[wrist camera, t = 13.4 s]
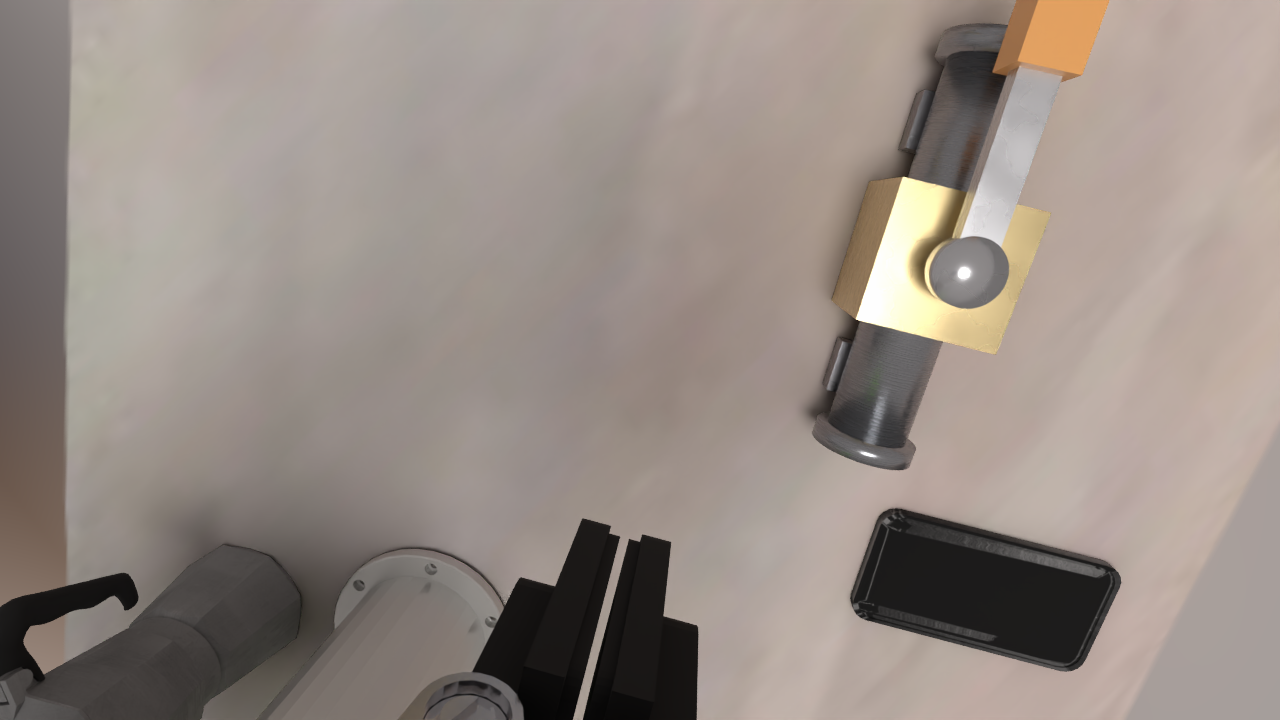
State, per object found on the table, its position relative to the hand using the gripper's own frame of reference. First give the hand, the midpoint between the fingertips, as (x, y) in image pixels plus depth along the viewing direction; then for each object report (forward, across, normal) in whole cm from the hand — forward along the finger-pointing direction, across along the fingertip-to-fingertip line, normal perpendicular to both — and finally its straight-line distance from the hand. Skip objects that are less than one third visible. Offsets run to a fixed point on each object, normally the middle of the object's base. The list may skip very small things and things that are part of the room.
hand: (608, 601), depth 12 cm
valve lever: (+22, -12, -12) cm, 28 cm away
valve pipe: (+29, -12, -7) cm, 32 cm away
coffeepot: (+29, +26, +27) cm, 48 cm away
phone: (+30, -23, +12) cm, 39 cm away
